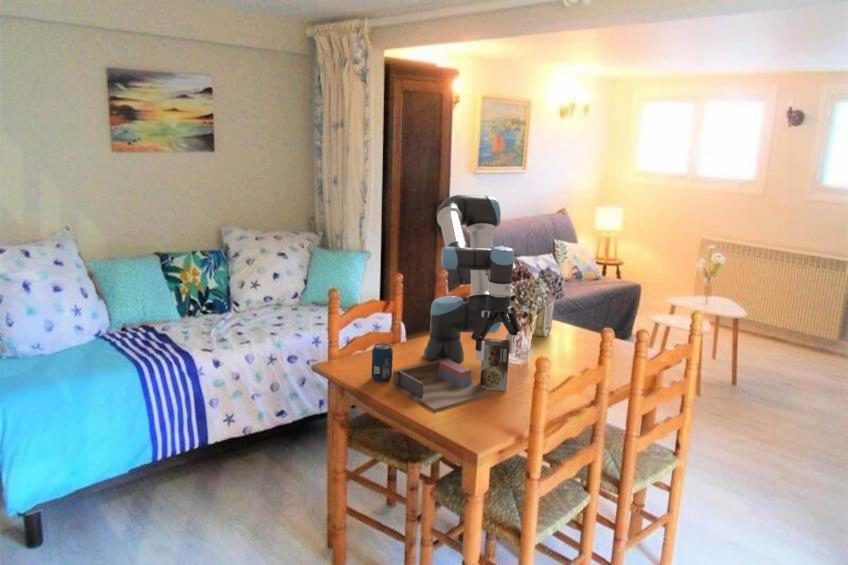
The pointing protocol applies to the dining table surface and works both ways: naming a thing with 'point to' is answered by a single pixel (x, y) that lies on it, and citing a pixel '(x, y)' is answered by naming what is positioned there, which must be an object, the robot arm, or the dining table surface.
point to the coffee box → (495, 365)
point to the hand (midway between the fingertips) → (494, 356)
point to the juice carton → (544, 321)
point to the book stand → (438, 388)
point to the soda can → (382, 362)
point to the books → (455, 373)
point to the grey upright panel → (410, 384)
